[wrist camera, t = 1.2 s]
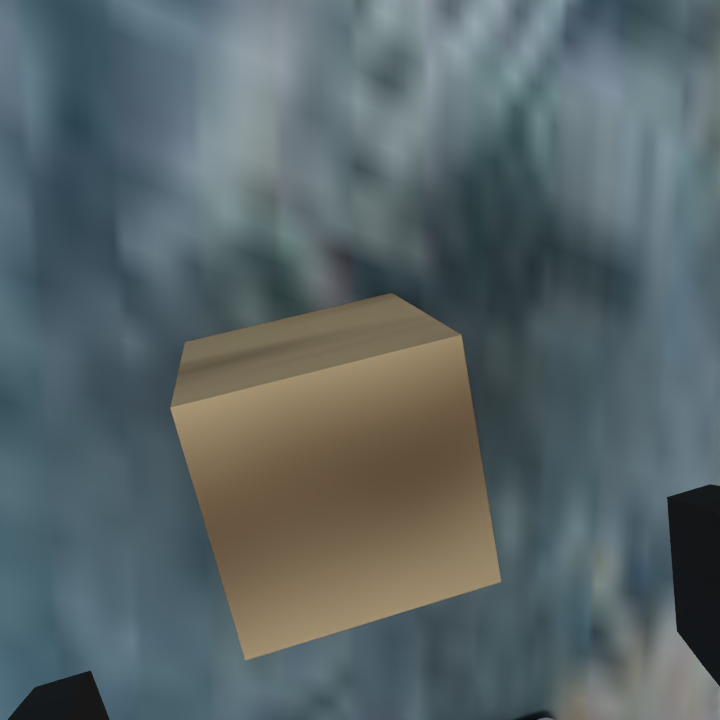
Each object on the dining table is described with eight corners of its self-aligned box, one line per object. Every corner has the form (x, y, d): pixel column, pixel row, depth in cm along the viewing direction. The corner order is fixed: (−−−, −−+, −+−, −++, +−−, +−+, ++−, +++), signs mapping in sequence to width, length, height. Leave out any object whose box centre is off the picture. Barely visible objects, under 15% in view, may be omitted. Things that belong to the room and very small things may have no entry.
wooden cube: (425, 476, 18) (501, 581, 13) (238, 528, 17) (245, 660, 12) (390, 292, 16) (461, 334, 12) (185, 341, 16) (170, 407, 11)
